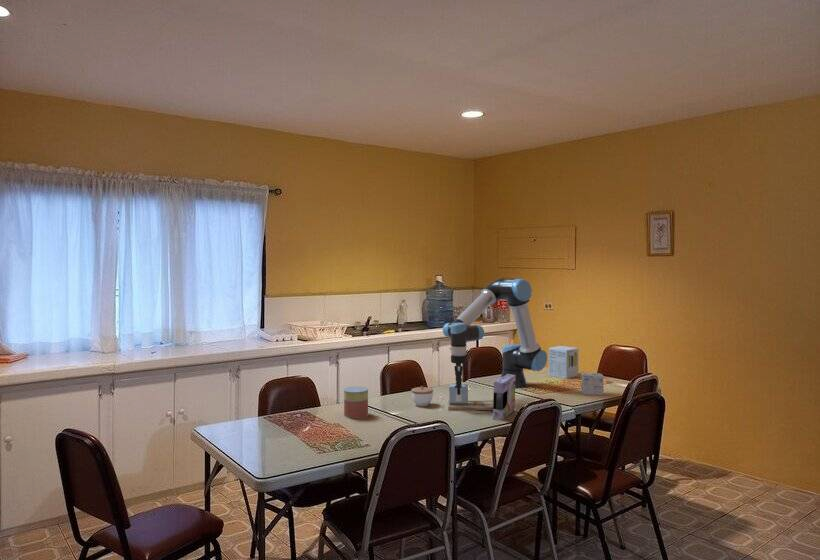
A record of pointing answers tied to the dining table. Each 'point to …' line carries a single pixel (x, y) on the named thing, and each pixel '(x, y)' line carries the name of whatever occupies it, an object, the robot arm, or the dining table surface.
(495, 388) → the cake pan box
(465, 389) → the block
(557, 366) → the supplement box
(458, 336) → the robot arm
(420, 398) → the lidded jar
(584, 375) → the light bulb box
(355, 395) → the canned food
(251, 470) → the dining table surface
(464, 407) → the board
